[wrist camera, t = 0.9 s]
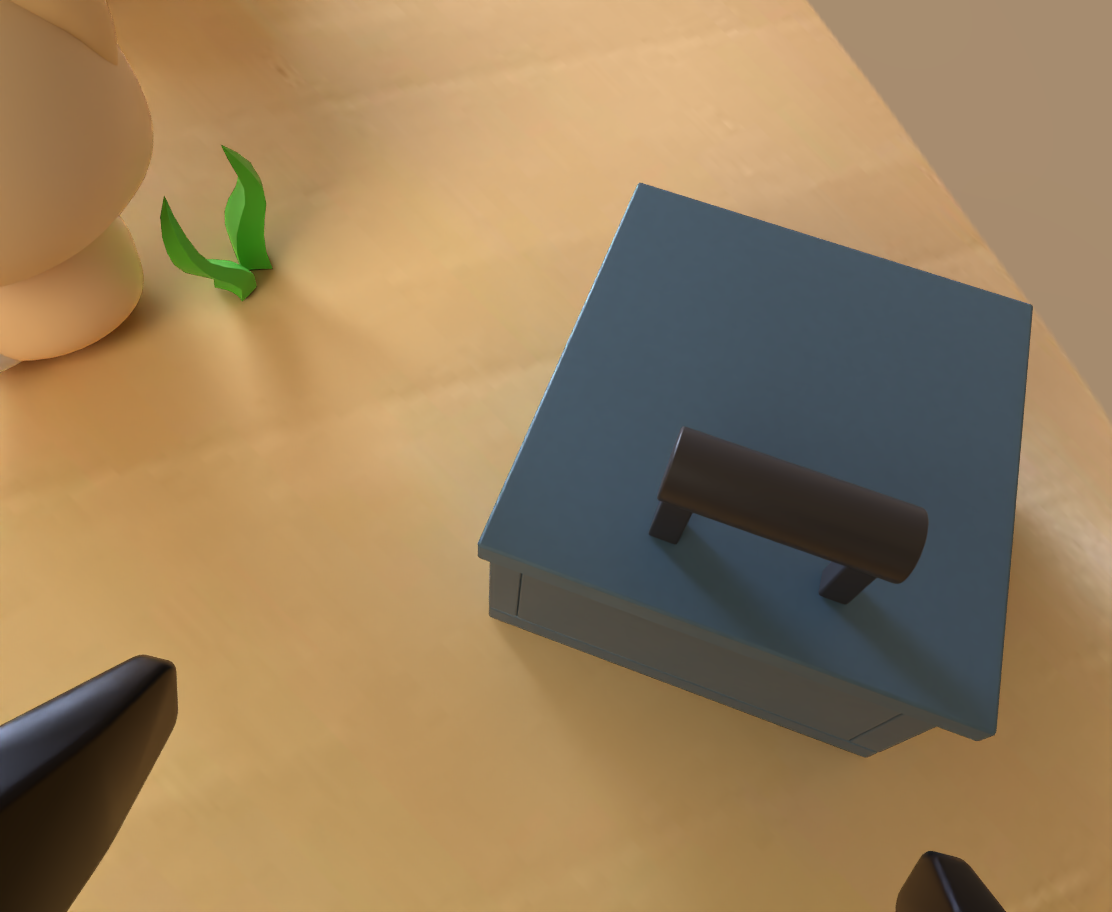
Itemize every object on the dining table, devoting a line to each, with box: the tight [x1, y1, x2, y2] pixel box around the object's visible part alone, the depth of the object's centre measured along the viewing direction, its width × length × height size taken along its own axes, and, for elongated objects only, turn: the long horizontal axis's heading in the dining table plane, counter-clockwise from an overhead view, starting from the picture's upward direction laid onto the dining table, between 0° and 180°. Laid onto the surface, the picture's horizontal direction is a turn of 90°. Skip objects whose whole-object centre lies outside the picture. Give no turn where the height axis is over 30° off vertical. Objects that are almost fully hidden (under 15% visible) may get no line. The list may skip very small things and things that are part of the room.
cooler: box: [489, 562, 937, 757], centre depth 25 cm, size 12×12×6 cm
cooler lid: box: [478, 183, 1033, 741], centre depth 20 cm, size 13×12×4 cm
